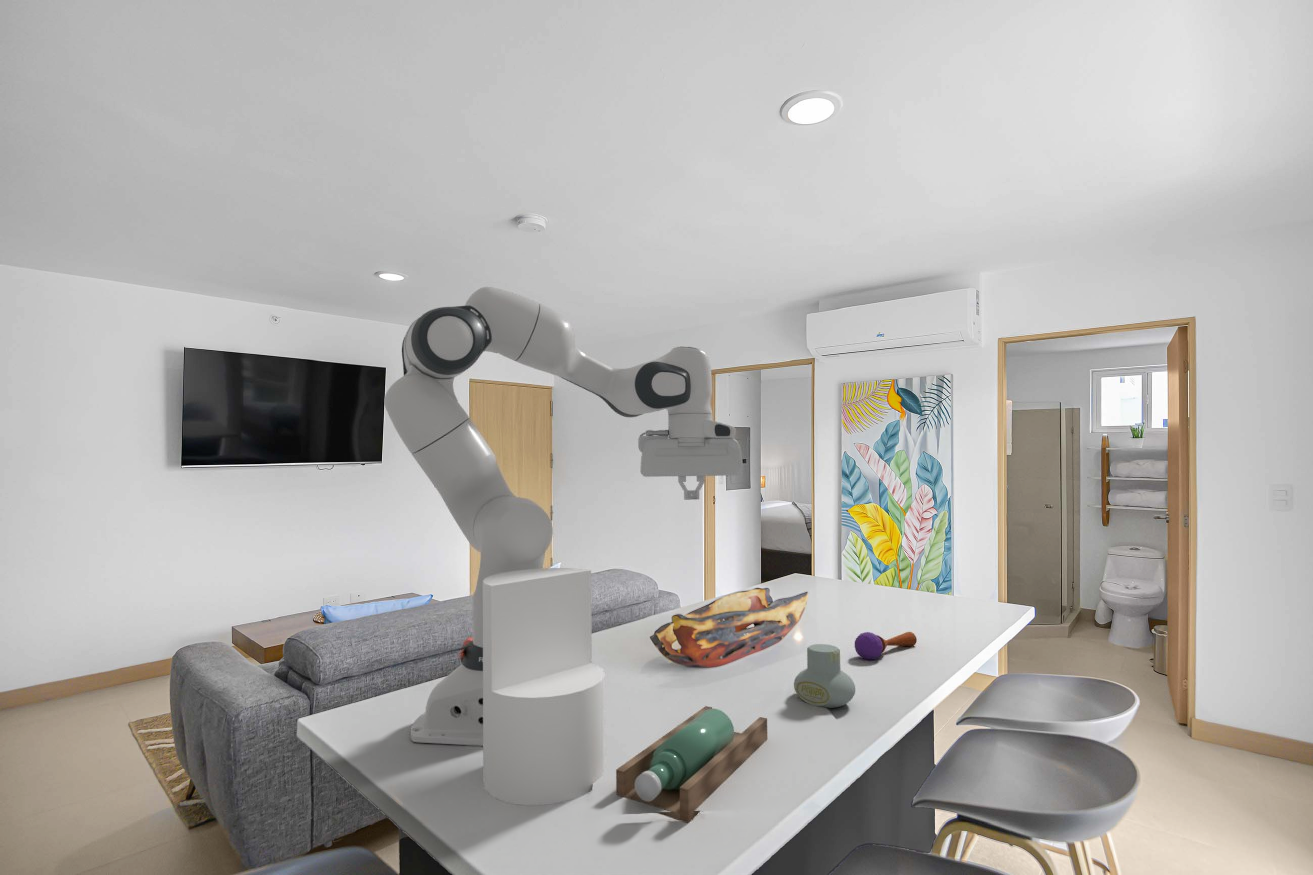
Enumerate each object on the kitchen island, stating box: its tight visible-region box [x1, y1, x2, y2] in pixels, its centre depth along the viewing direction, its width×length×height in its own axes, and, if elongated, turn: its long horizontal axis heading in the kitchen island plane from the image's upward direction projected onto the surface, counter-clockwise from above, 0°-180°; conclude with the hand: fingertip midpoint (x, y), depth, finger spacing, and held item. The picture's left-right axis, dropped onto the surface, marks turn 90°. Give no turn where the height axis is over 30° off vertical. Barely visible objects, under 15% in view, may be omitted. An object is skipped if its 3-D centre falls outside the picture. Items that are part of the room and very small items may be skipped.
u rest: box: [615, 705, 768, 824], centre depth 95 cm, size 26×11×4 cm, turn 149°
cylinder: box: [482, 567, 607, 806], centre depth 95 cm, size 17×17×28 cm
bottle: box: [635, 708, 735, 801], centre depth 91 cm, size 6×6×21 cm
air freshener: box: [793, 643, 856, 709], centre depth 121 cm, size 11×8×10 cm
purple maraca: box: [854, 631, 918, 661], centre depth 152 cm, size 6×6×20 cm
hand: (691, 499), depth 130 cm, fingers closed
